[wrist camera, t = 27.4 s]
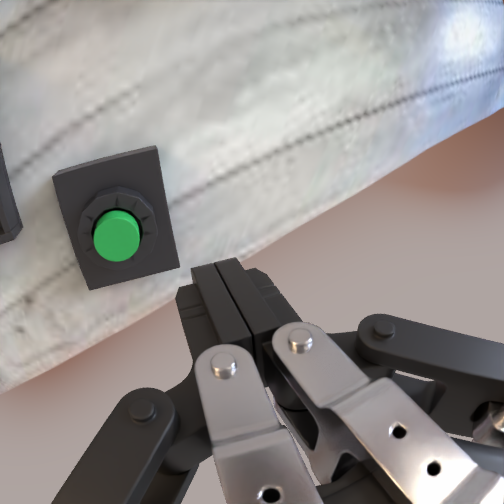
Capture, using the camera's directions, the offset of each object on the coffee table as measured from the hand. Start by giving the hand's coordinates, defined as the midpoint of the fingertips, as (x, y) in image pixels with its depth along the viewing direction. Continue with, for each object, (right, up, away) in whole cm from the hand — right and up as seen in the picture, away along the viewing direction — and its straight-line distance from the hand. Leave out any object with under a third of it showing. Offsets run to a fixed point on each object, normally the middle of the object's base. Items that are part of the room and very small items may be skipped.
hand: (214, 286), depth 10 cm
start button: (-9, +3, +13) cm, 16 cm away
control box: (-11, +4, +16) cm, 20 cm away
